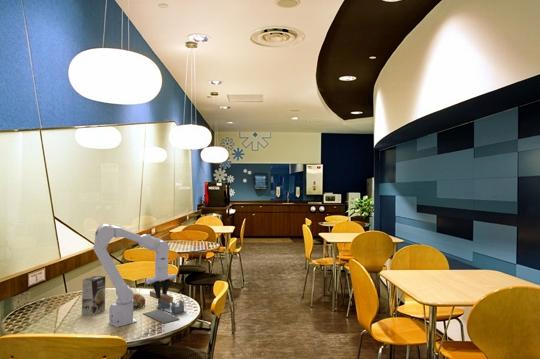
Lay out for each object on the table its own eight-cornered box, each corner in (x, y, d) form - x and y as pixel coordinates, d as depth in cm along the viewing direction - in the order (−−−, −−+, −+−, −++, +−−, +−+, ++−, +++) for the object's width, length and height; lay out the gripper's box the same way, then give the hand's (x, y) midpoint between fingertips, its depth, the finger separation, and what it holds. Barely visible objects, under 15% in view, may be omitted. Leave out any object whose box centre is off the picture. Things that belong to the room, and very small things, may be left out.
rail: (168, 303, 177) (168, 298, 177) (149, 296, 188) (149, 290, 188) (172, 302, 179) (173, 296, 179) (154, 295, 190) (154, 290, 190)
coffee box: (93, 315, 184) (94, 280, 184) (81, 314, 185) (81, 279, 186) (105, 309, 193) (106, 276, 193) (93, 308, 194) (94, 275, 195)
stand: (175, 315, 185) (175, 303, 185) (156, 307, 197) (156, 296, 197) (186, 312, 189) (186, 301, 190) (166, 304, 201) (166, 293, 201)
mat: (163, 324, 174) (163, 323, 174) (143, 314, 187) (143, 313, 187) (179, 319, 180) (179, 318, 180) (158, 310, 192) (158, 309, 192)
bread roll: (146, 312, 201) (149, 295, 205) (139, 309, 192) (142, 292, 195) (127, 311, 202) (131, 295, 206) (119, 308, 193) (122, 291, 196)
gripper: (170, 263, 191) (170, 292, 191) (142, 268, 181) (142, 298, 181) (178, 265, 187) (178, 295, 186) (150, 270, 176) (150, 301, 176)
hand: (161, 297), depth 183 cm, fingers closed on rail, 2 cm apart
